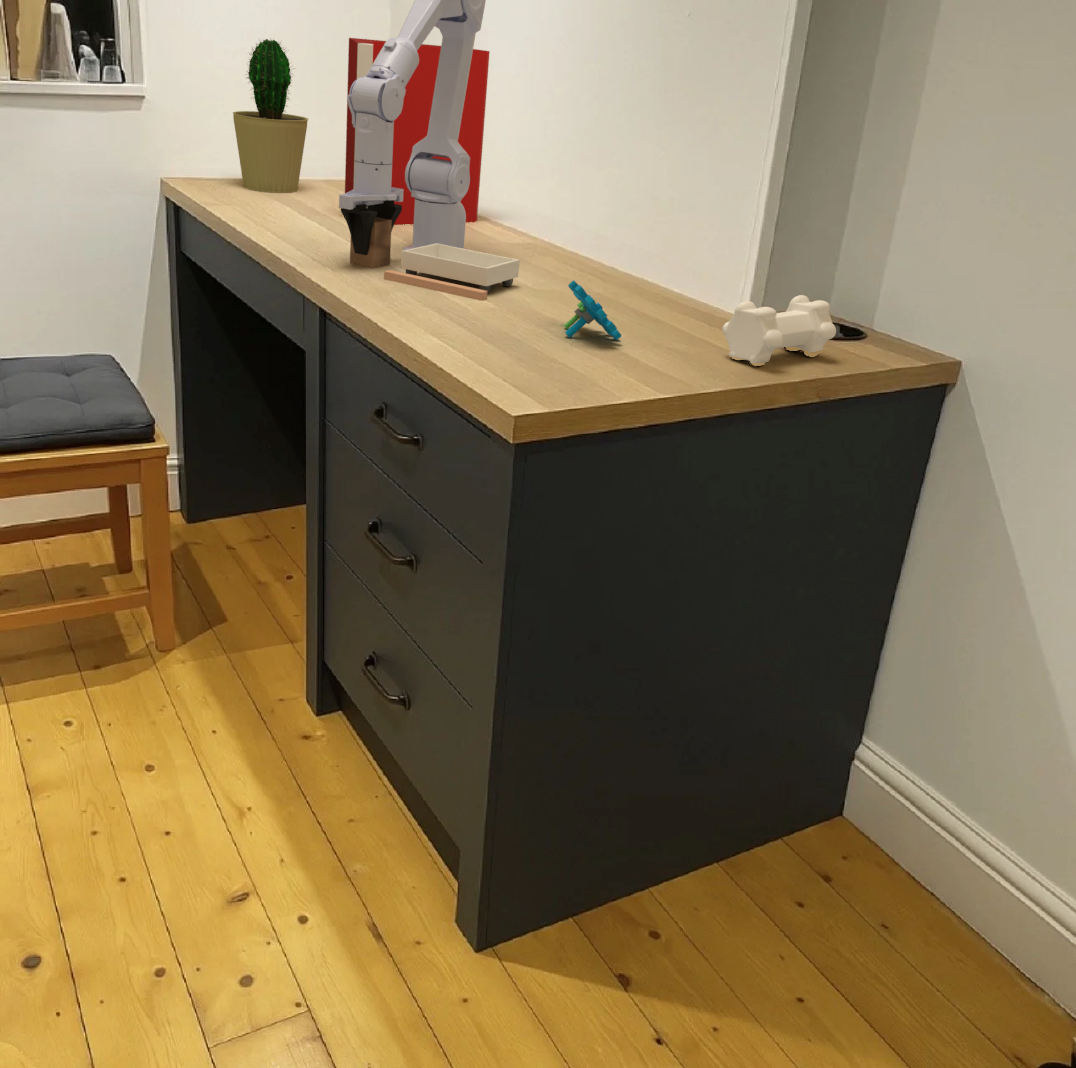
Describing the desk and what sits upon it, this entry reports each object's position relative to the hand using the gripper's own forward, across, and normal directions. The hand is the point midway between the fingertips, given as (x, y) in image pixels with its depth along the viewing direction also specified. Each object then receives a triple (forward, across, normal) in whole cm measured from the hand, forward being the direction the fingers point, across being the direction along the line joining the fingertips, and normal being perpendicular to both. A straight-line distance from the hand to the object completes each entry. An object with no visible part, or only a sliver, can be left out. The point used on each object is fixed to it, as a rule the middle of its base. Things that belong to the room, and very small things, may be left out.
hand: (370, 251), depth 175 cm
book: (+3, +44, +20) cm, 48 cm away
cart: (+2, +1, -16) cm, 16 cm away
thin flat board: (+2, +5, -16) cm, 17 cm away
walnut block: (+2, 0, 0) cm, 2 cm away
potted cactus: (+3, +48, +59) cm, 76 cm away
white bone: (+3, -2, -67) cm, 67 cm away
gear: (+3, -12, -44) cm, 46 cm away
